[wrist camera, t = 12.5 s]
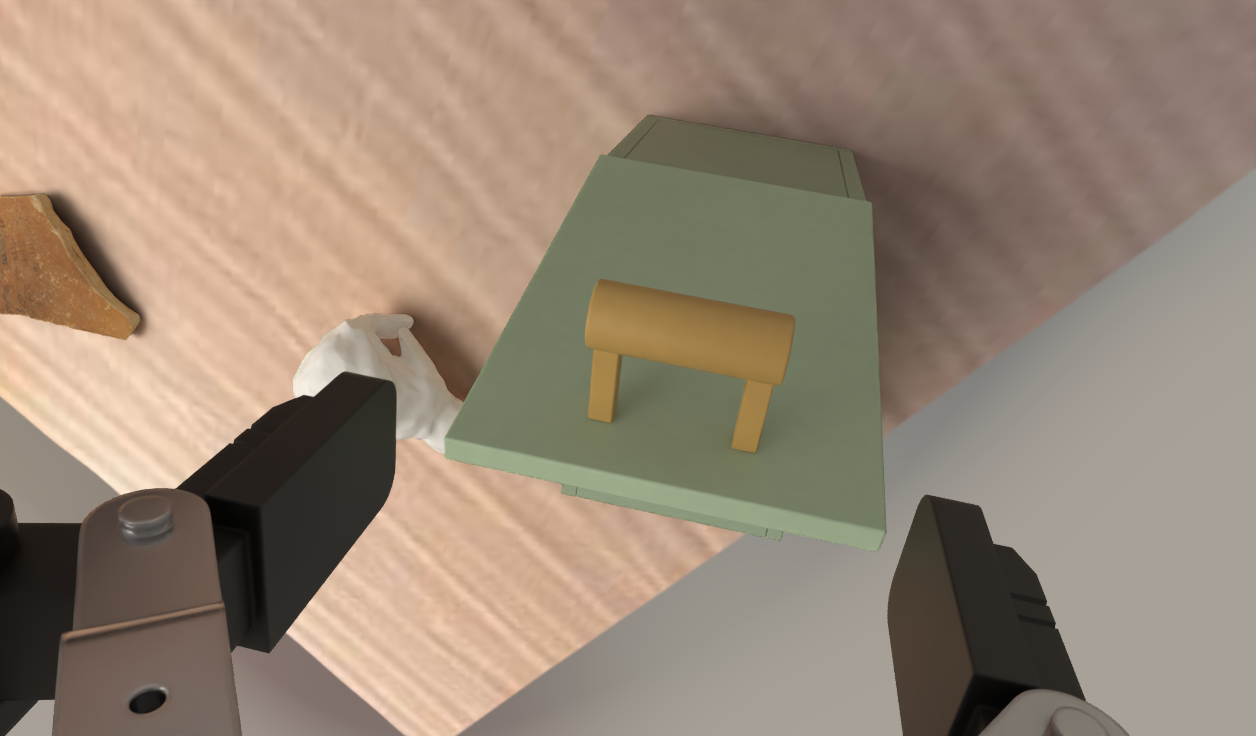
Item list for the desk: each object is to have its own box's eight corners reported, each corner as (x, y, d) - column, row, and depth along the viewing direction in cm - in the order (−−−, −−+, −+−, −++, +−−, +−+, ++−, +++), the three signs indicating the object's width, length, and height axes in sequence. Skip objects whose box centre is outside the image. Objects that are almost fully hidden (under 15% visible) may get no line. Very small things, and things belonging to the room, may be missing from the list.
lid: (878, 553, 22) (941, 406, 19) (443, 459, 23) (435, 306, 20) (867, 218, 36) (902, 102, 33) (598, 170, 37) (607, 54, 34)
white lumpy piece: (316, 337, 49) (485, 462, 52) (371, 279, 56) (516, 391, 59) (263, 406, 51) (426, 521, 54) (322, 342, 59) (463, 446, 62)
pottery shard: (148, 333, 62) (124, 347, 59) (38, 337, 63) (10, 351, 61) (96, 186, 57) (67, 195, 55) (-21, 195, 59) (-53, 205, 57)
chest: (784, 423, 56) (780, 541, 44) (608, 387, 57) (560, 494, 45) (851, 149, 48) (869, 207, 36) (646, 114, 49) (601, 160, 38)
